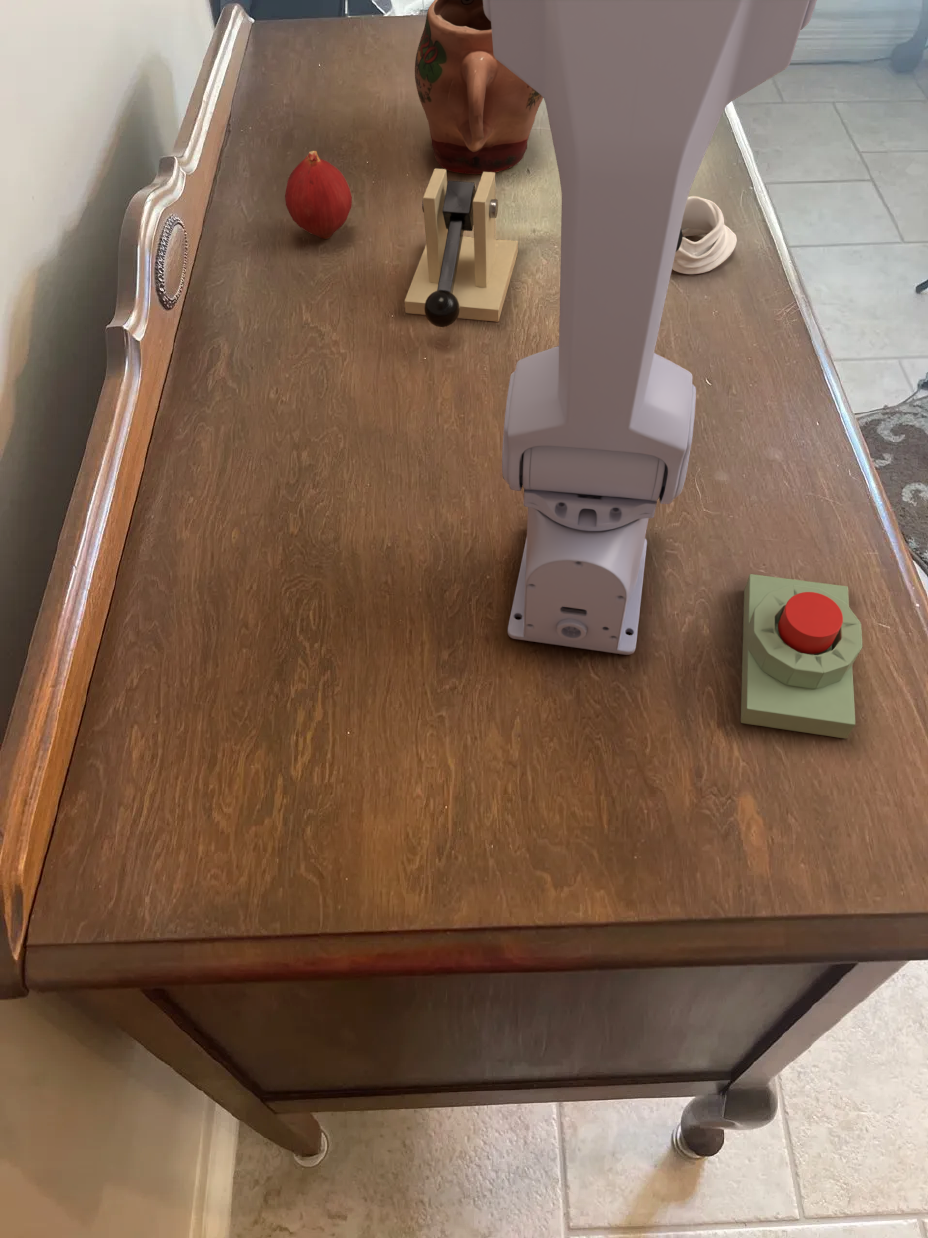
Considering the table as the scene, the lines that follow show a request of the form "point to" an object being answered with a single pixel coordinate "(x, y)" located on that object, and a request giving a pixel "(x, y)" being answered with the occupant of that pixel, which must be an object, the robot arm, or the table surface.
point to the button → (810, 622)
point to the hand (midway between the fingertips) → (611, 285)
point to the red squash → (318, 196)
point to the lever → (451, 252)
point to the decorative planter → (471, 92)
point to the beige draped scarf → (711, 248)
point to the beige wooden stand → (465, 254)
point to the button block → (796, 663)
